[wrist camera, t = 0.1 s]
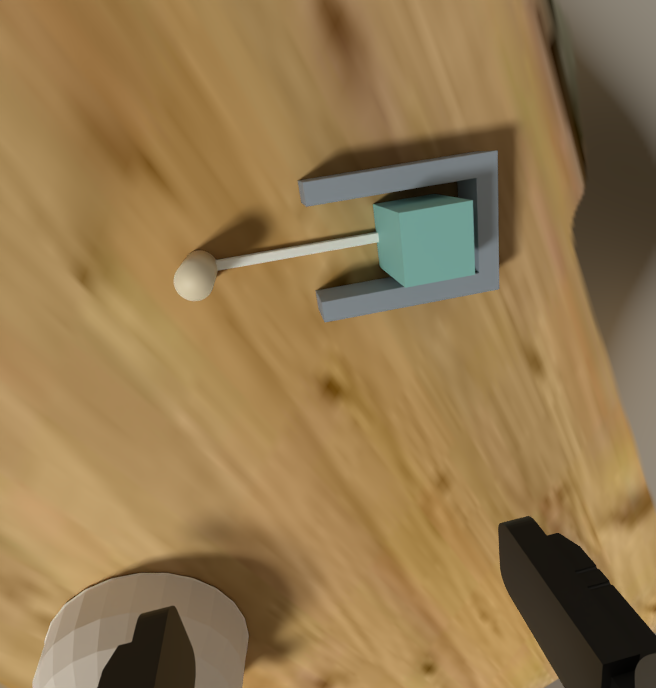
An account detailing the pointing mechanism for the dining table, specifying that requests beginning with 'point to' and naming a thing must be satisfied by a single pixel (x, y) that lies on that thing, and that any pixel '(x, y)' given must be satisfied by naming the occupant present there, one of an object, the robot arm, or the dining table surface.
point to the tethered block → (391, 236)
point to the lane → (467, 169)
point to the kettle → (119, 624)
